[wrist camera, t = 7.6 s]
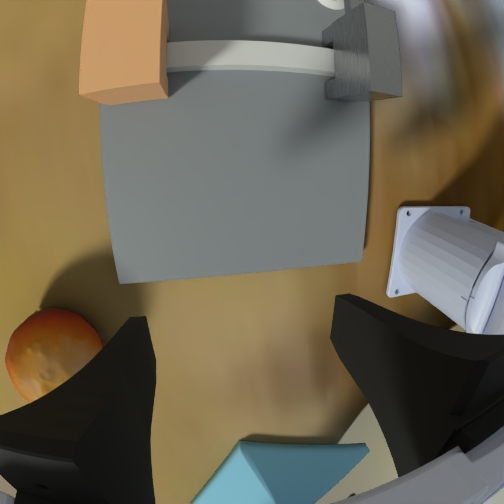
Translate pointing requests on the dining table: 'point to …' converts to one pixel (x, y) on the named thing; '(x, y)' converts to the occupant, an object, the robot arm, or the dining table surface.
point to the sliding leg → (124, 51)
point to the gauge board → (238, 149)
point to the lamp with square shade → (279, 473)
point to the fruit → (49, 351)
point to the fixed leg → (364, 54)
